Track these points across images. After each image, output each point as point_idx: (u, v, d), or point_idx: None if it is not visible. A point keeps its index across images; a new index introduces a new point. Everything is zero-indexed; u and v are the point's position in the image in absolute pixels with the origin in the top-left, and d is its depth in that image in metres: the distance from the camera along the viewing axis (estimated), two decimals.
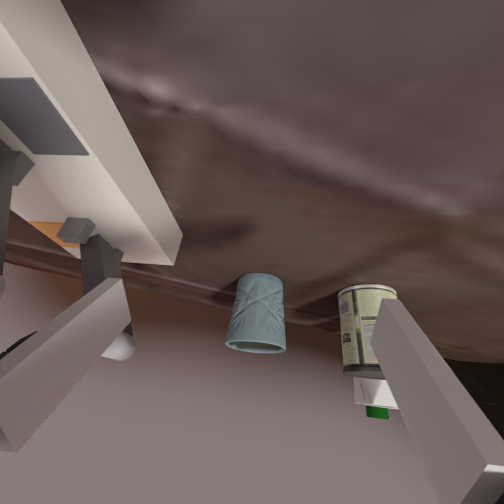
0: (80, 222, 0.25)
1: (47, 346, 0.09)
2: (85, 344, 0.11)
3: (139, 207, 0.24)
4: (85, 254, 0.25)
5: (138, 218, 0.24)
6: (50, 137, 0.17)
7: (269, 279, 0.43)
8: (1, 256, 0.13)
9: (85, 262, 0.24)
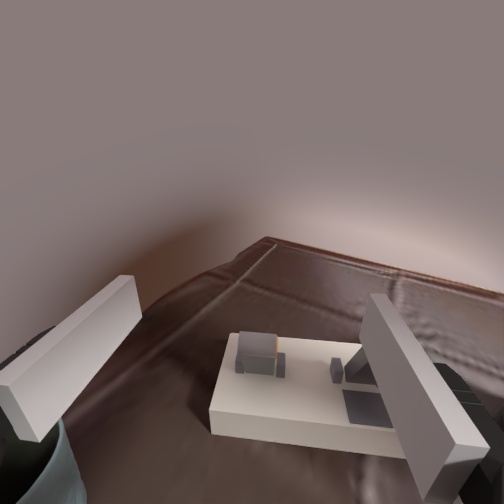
0: (284, 371, 0.36)
1: (67, 340, 0.09)
2: (100, 339, 0.11)
3: (294, 423, 0.31)
4: None
5: (288, 417, 0.30)
6: (358, 408, 0.31)
7: None
8: (366, 361, 0.27)
9: None
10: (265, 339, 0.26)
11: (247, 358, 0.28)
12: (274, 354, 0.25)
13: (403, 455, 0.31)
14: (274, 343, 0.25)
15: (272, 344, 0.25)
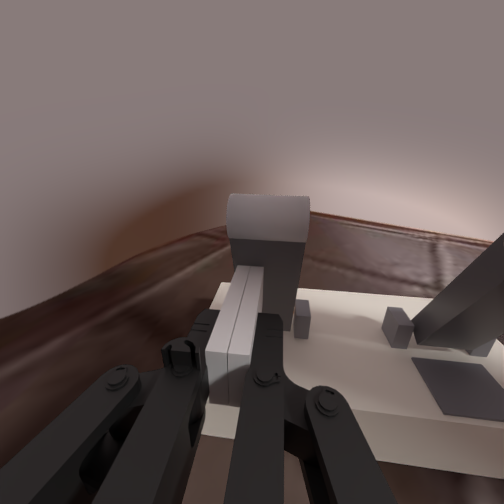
0: None
1: (237, 319, 0.10)
2: None
3: None
4: None
5: None
6: (451, 388, 0.17)
7: None
8: None
9: None
10: (286, 198, 0.12)
11: (247, 261, 0.14)
12: (306, 224, 0.12)
13: None
14: (305, 202, 0.12)
15: (301, 203, 0.12)
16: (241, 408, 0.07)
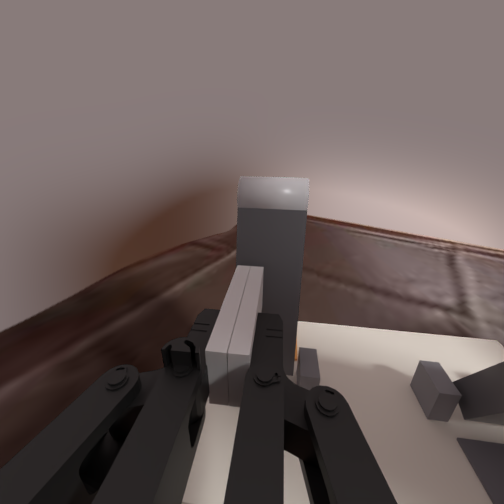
0: None
1: (237, 319, 0.10)
2: None
3: None
4: None
5: None
6: None
7: None
8: None
9: None
10: None
11: (250, 239, 0.15)
12: (306, 187, 0.14)
13: None
14: (305, 178, 0.14)
15: None
16: (241, 408, 0.07)
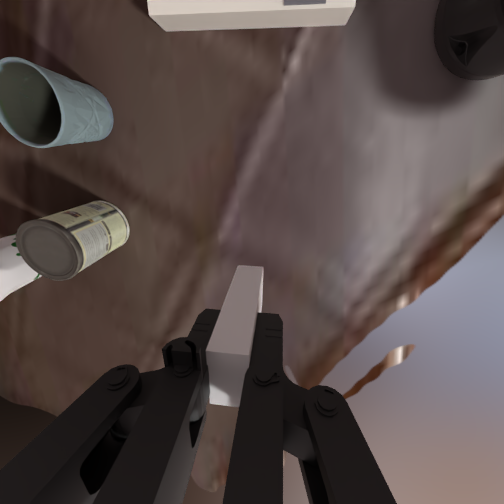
0: None
1: (237, 319, 0.10)
2: None
3: (231, 14, 0.32)
4: None
5: (224, 10, 0.31)
6: None
7: (110, 125, 0.42)
8: None
9: None
10: None
11: None
12: None
13: (335, 23, 0.34)
14: None
15: None
16: (240, 408, 0.07)
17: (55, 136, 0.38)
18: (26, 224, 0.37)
